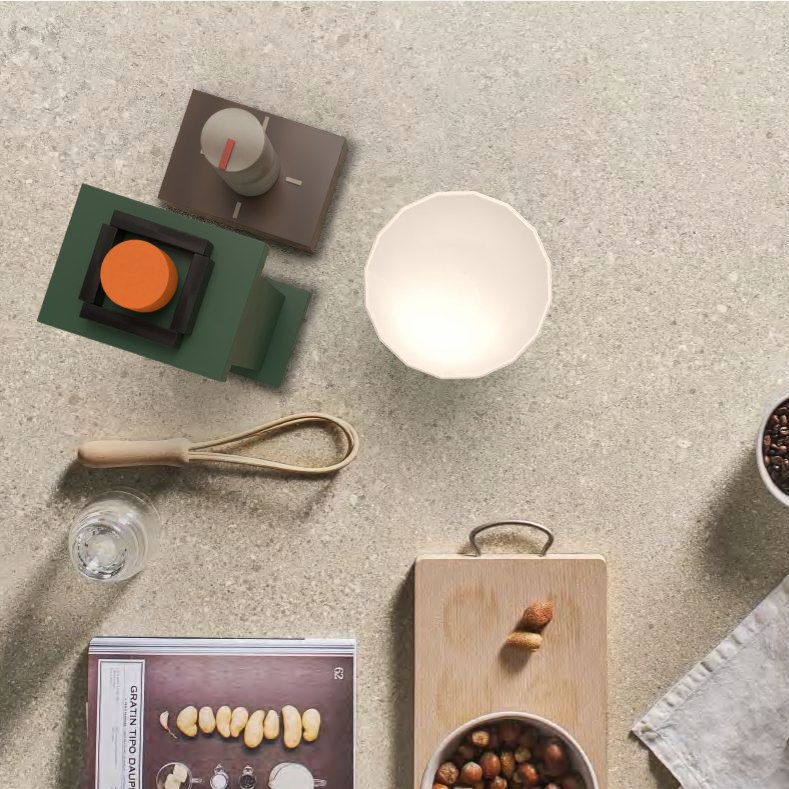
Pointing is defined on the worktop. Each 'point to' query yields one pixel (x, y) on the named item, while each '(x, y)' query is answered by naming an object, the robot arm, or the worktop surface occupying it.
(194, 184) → the dial panel
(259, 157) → the dial
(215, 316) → the control post
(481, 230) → the cup
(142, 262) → the button
